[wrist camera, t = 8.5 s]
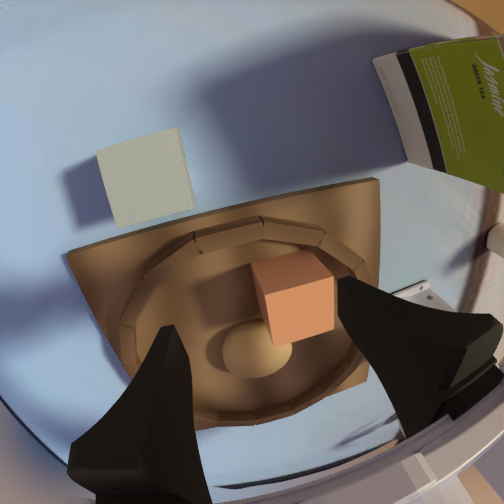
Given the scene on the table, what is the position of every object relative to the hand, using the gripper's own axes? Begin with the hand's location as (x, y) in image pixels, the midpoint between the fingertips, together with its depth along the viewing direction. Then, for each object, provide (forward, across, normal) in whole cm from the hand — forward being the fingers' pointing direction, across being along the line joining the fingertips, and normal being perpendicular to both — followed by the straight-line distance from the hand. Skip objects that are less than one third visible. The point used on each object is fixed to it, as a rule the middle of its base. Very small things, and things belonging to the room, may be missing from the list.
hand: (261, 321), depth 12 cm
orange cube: (+10, -3, +5) cm, 11 cm away
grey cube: (+11, +4, -6) cm, 13 cm away
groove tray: (+10, 0, +10) cm, 15 cm away
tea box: (+11, -22, -9) cm, 26 cm away
